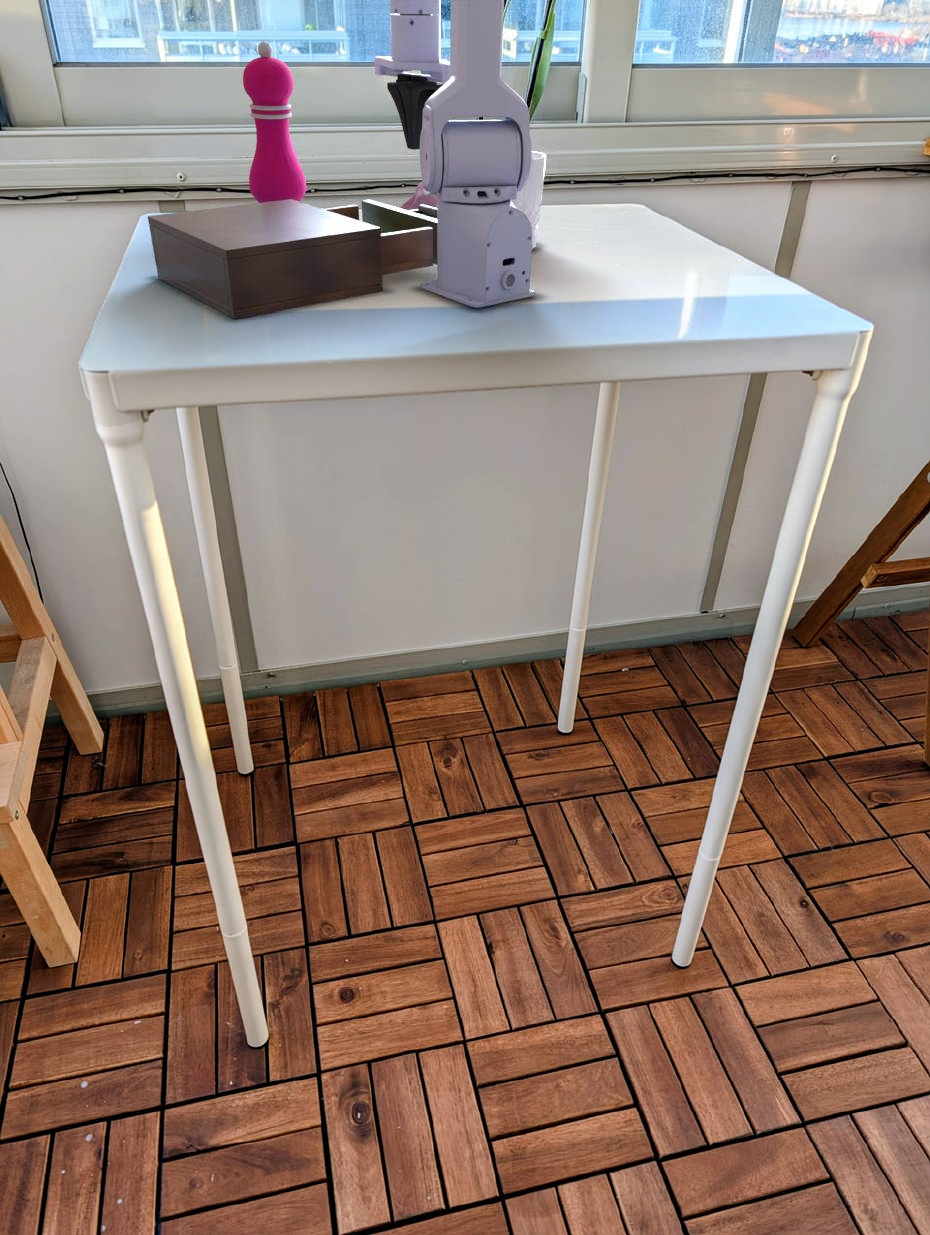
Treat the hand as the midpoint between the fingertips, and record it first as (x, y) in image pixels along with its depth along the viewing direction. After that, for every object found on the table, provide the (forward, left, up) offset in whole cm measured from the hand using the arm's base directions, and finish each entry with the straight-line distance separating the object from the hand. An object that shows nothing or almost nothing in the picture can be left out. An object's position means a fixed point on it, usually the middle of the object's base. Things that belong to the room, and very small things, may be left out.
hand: (417, 148), depth 110 cm
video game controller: (0, 0, -10) cm, 10 cm away
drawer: (-12, +15, -9) cm, 21 cm away
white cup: (-13, -4, -10) cm, 17 cm away
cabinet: (-12, +28, -9) cm, 32 cm away
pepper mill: (+14, +12, -10) cm, 21 cm away
